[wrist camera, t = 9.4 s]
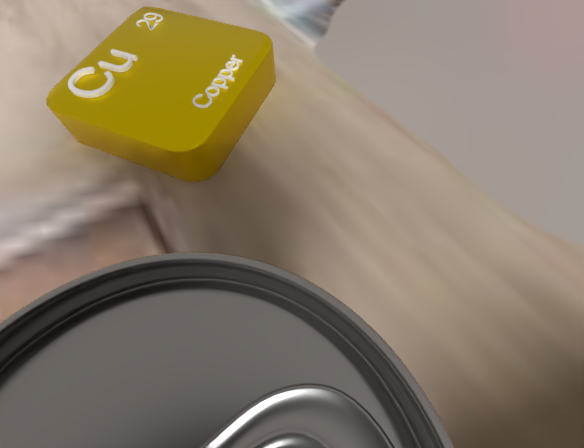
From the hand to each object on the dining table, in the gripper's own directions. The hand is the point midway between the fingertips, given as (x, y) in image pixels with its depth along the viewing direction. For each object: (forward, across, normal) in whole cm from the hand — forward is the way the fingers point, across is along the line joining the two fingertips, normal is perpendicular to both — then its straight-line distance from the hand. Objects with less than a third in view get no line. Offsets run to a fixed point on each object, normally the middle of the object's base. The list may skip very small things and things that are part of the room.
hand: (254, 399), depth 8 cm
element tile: (+27, +13, -8) cm, 31 cm away
